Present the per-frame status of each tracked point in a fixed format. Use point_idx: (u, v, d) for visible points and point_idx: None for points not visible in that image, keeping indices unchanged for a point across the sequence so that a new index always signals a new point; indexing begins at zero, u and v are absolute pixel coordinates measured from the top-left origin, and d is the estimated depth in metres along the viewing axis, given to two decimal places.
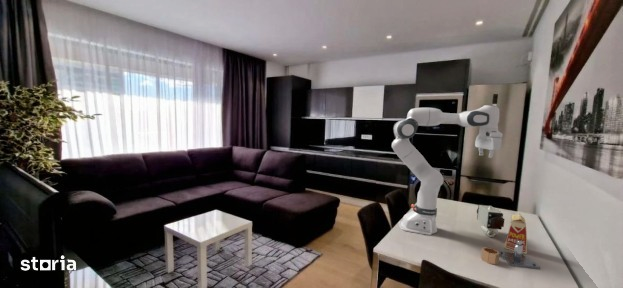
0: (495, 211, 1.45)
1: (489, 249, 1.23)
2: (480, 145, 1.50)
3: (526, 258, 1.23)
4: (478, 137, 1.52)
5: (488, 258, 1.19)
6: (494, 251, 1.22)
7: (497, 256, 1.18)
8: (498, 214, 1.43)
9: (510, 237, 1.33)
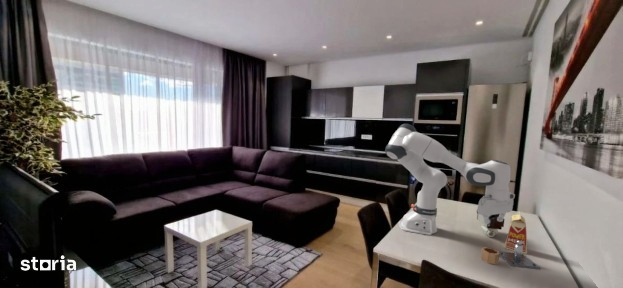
0: None
1: (489, 249, 1.23)
2: (494, 211, 1.16)
3: (526, 258, 1.23)
4: (490, 202, 1.15)
5: (488, 258, 1.19)
6: (494, 251, 1.22)
7: (497, 256, 1.18)
8: (498, 214, 1.43)
9: (510, 237, 1.33)
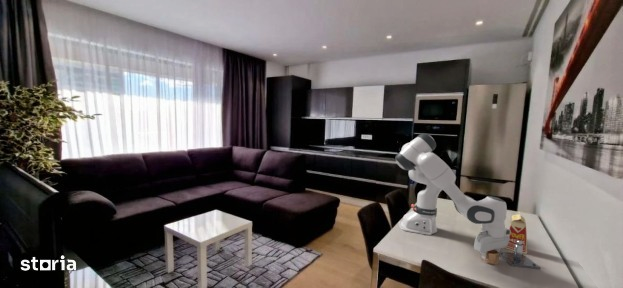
0: None
1: None
2: (490, 247, 1.18)
3: (526, 258, 1.23)
4: (487, 239, 1.16)
5: (488, 258, 1.19)
6: (494, 251, 1.22)
7: (497, 256, 1.18)
8: None
9: (510, 237, 1.33)
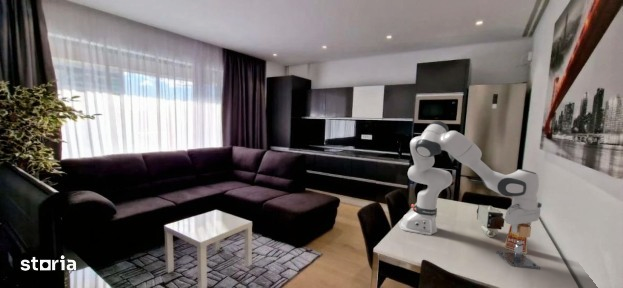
0: (495, 211, 1.45)
1: None
2: (522, 220, 1.17)
3: (526, 258, 1.23)
4: (518, 211, 1.16)
5: (519, 231, 1.18)
6: (525, 225, 1.21)
7: (529, 229, 1.17)
8: (498, 214, 1.43)
9: (510, 237, 1.33)
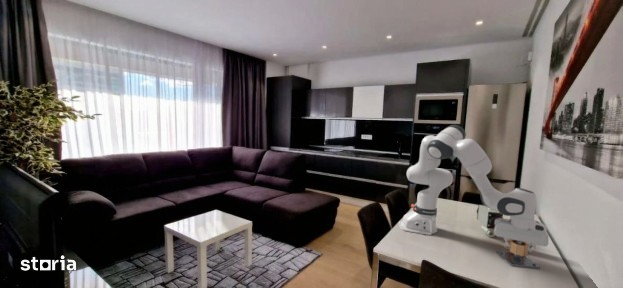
0: (495, 211, 1.45)
1: (523, 243, 1.22)
2: (512, 236, 1.21)
3: (526, 258, 1.23)
4: (505, 225, 1.22)
5: (510, 247, 1.22)
6: None
7: (520, 247, 1.18)
8: (498, 214, 1.43)
9: None
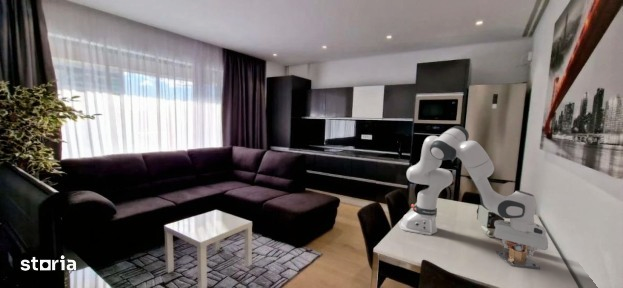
0: None
1: (522, 250, 1.22)
2: (511, 238, 1.22)
3: None
4: (503, 227, 1.24)
5: (509, 252, 1.23)
6: (524, 252, 1.20)
7: (518, 253, 1.19)
8: None
9: None
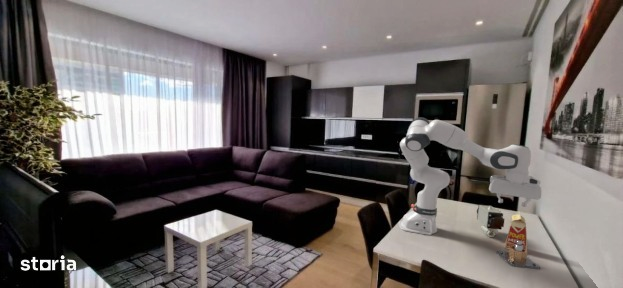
0: (495, 211, 1.45)
1: (522, 250, 1.22)
2: (506, 192, 1.24)
3: None
4: (500, 181, 1.25)
5: (509, 252, 1.23)
6: (524, 252, 1.20)
7: (518, 253, 1.19)
8: (498, 214, 1.43)
9: (510, 237, 1.33)
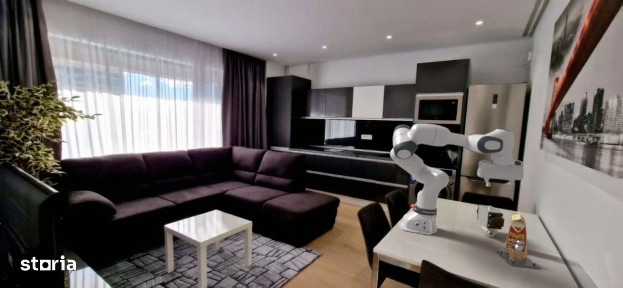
0: (495, 211, 1.45)
1: (522, 250, 1.22)
2: (494, 175, 1.27)
3: None
4: (488, 166, 1.27)
5: (509, 252, 1.23)
6: (524, 252, 1.20)
7: (518, 253, 1.19)
8: (498, 214, 1.43)
9: (510, 237, 1.33)
